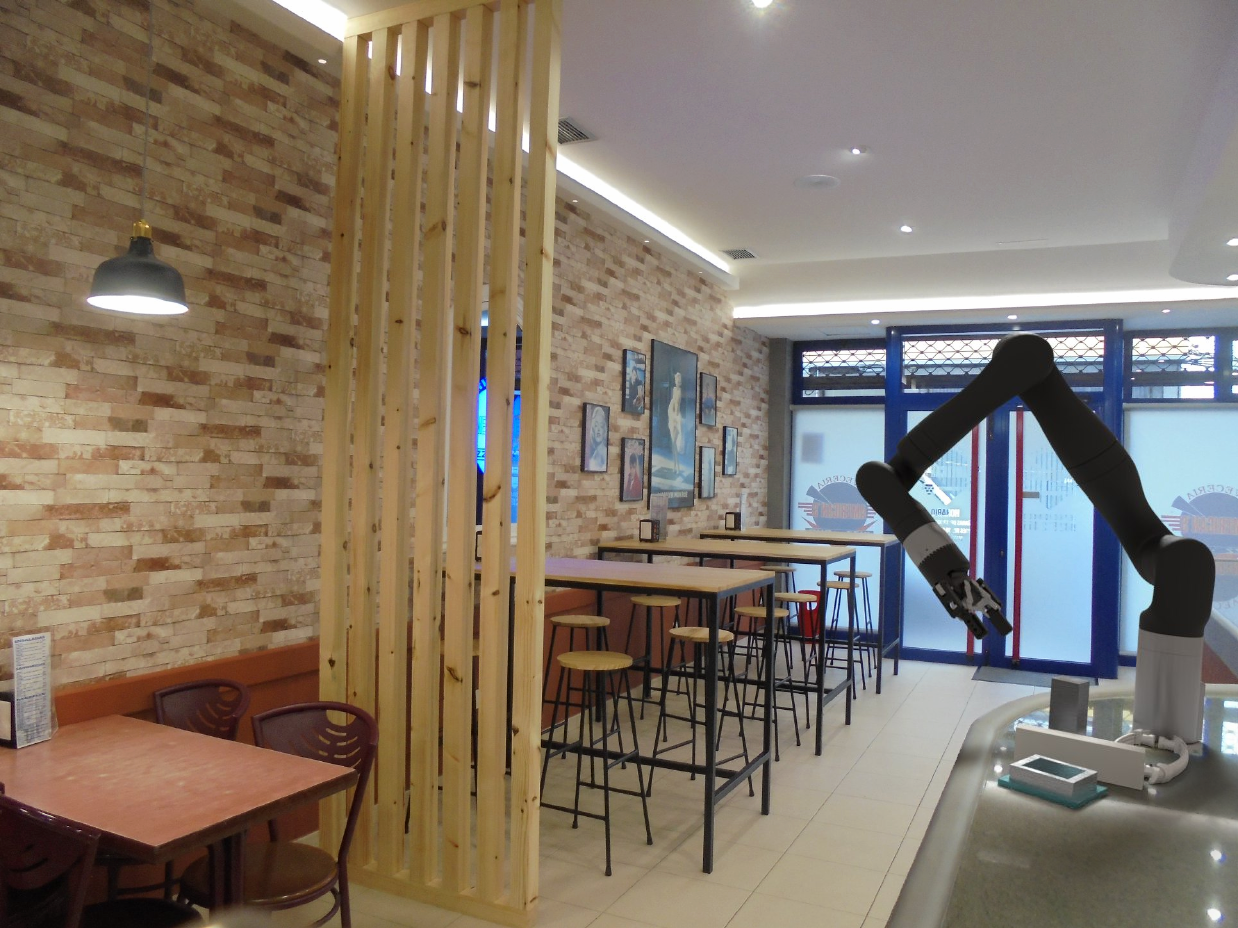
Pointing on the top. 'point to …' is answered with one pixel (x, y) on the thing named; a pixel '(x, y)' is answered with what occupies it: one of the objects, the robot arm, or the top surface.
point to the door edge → (1084, 754)
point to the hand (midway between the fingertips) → (996, 635)
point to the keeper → (1054, 781)
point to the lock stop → (1069, 705)
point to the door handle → (1177, 745)
